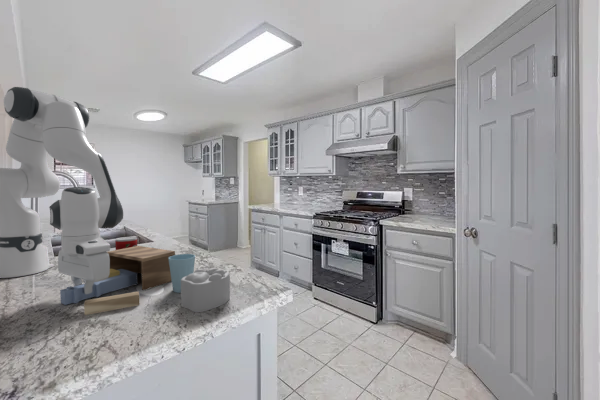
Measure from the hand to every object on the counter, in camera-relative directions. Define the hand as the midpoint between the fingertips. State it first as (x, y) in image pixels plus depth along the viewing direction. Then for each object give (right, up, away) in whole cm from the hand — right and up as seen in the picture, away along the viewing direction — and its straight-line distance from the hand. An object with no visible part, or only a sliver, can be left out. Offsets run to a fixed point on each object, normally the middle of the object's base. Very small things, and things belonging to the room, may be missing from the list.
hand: (83, 292), depth 82 cm
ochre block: (-1, -1, +12) cm, 12 cm away
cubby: (+7, -1, +16) cm, 17 cm away
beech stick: (+13, -3, -6) cm, 15 cm away
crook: (0, -1, +6) cm, 6 cm away
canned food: (-10, -1, +37) cm, 38 cm away
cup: (+26, -2, +7) cm, 27 cm away
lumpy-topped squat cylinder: (+37, -2, -2) cm, 37 cm away
